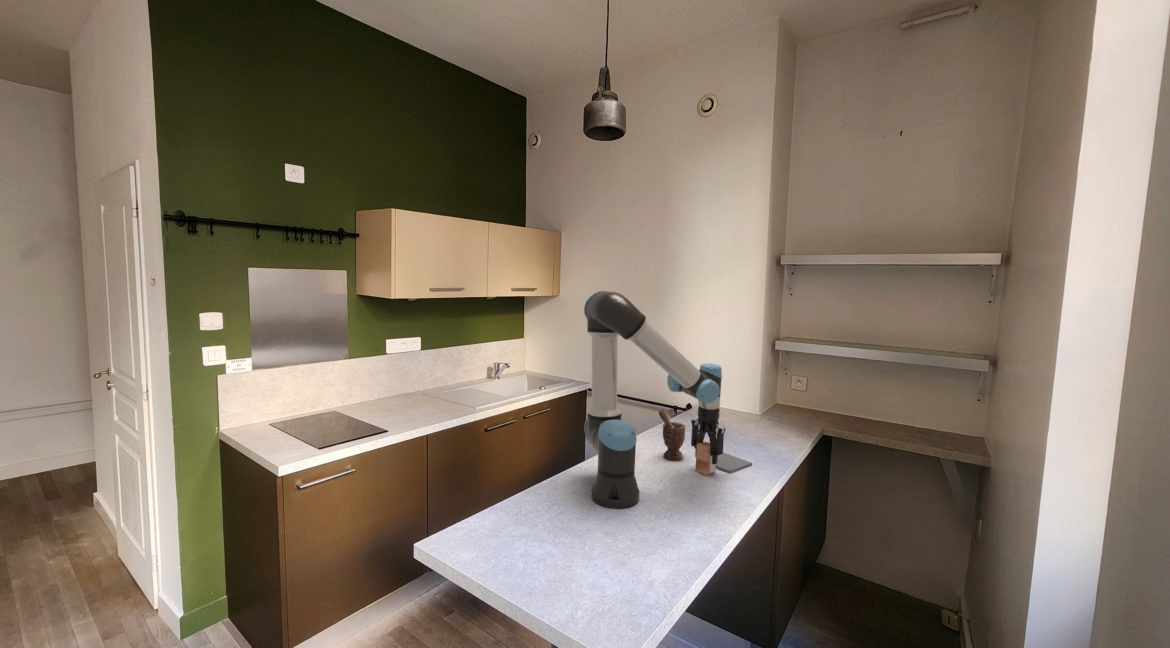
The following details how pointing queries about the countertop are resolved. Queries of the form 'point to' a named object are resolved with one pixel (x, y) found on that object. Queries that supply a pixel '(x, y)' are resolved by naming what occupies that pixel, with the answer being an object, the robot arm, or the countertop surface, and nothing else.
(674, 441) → the mortar and pestle
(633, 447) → the robot arm
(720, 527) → the countertop surface
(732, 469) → the slate card
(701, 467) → the terracotta block
